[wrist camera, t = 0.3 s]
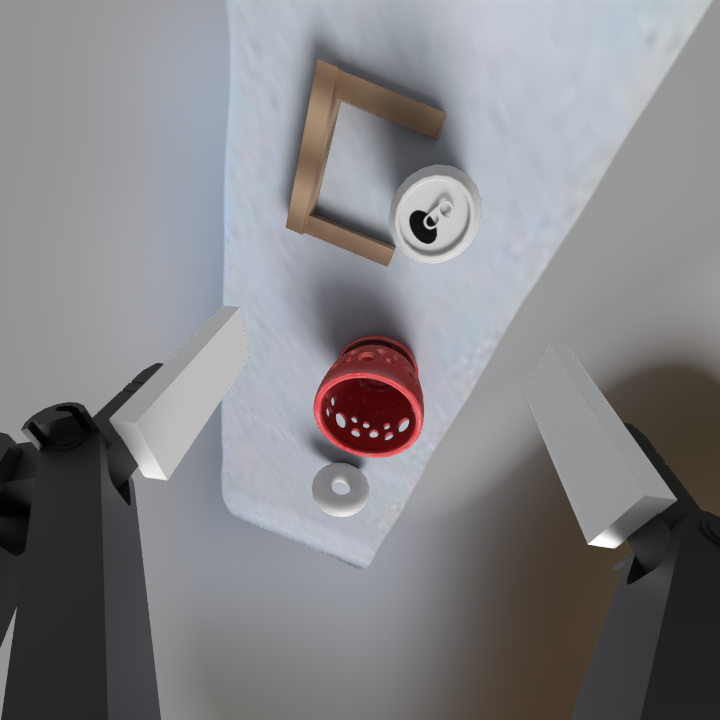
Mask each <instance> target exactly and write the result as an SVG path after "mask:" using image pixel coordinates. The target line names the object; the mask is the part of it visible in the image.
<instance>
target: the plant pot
mask: <svg viewBox="0 0 720 720" xmlns="http://www.w3.org/2000/svg"><path fill="white" fill-rule="evenodd" d="M332 397H333V398H334V405H332V403H331V399H332ZM327 408H328V410H329V417H328V415H327V411H326V410H327ZM413 411H414V412H413ZM337 413H338V414H340V415H341V416H342V417H343V418H344V420H345V423H346V424H345V427H344V428H341V427H340V426H339V425H338V424H337V422H336V414H337ZM314 416H315V420H316V423H317V425H318V427H319V429H320V430H321V432H322V433H323V434H324V435H325V436H326V438H327V439H328V440H330V441H331V442H332V443H333V444H334V445H336V446H338V447H339V448H341V449H343V450H345V451H347V452H349V453H352V454H355V455H359V456H364V457H373V458H379V457H389V456H393V455H396V454H398V453H401V452H403V451H405V450H406V449H408V448H409V447H410V446H411V445H413V444H414V442H415V441H416V440H417V439H418V437H419V435H420V433H421V430H422V427H423V420H424V403H423V394H422V390H421V386H420V382H419V379H418V367H417V364H416V361H415V359H414V357H413V355H412V354H411V352H410V351H409V350H408V349H407V348H406V347H405V346H404V345H403V344H401V343H400V342H398V341H396V340H394V339H392V338H388V337H385V336H377V335H373V336H365V337H362V338H359V339H357V340H355V341H353V342H351V343H350V344H349V345H348V346H347V347H346V348H345V349H344V350H343V351H342V353H341V354H340V356H339V359H338V360H337V361H336V362H335V363H334V365H333V366H332V367H331V368H330V370H329V371H328V372H327V374H326V376H325V377H324V379H323V381H322V382H321V384H320V386H319V389H318V391H317V393H316V396H315V400H314ZM351 418H355V419H356V420H357V423H354V422H353V421H352V420H351ZM406 420H409V425H408V427H407V428H406V429H405V430H404V431H402V432H399V427H400V425H401V424H402V423H403V422H404V421H406ZM363 424H369V426H370V427H369V428H364V427H363ZM388 425H389V426H390V427H389V429H384V427H386V426H388ZM352 431H357V432H358V433H359V434H360V436H359V437H356V436H354V435H352V433H351V432H352ZM372 432H377V433H378V434H379V435H378V436H377V437H374V438H372V437H370V436H369V434H370V433H372ZM389 435H393V437H392V438H391V439H389V440H385V438H386V437H387V436H389Z"/></svg>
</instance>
